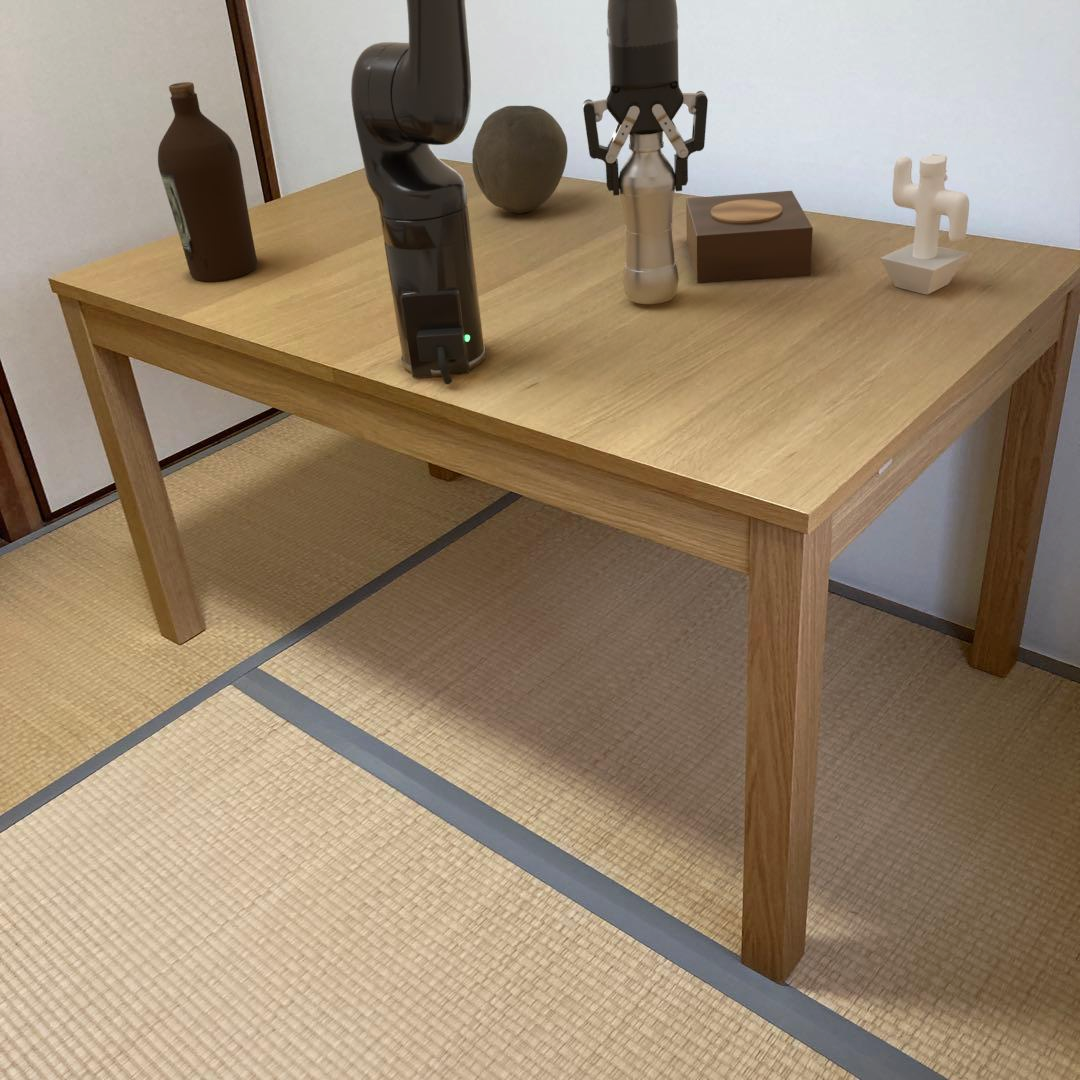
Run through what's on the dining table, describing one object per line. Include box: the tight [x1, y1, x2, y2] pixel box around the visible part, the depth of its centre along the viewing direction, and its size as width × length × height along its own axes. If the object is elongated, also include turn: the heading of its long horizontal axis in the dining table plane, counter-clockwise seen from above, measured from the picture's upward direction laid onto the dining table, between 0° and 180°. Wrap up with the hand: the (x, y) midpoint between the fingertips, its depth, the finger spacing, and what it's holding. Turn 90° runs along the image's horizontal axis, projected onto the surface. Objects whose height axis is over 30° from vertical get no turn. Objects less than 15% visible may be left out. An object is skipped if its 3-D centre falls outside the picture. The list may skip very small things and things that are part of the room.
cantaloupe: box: [471, 105, 569, 214], centre depth 173 cm, size 14×14×15 cm
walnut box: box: [685, 190, 814, 284], centre depth 149 cm, size 16×14×6 cm
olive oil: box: [157, 81, 258, 282], centre depth 157 cm, size 11×11×25 cm
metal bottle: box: [619, 131, 680, 305], centre depth 135 cm, size 6×7×20 cm
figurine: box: [879, 153, 970, 296], centre depth 133 cm, size 7×9×15 cm
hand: (647, 191), depth 133 cm, fingers closed on metal bottle, 6 cm apart
